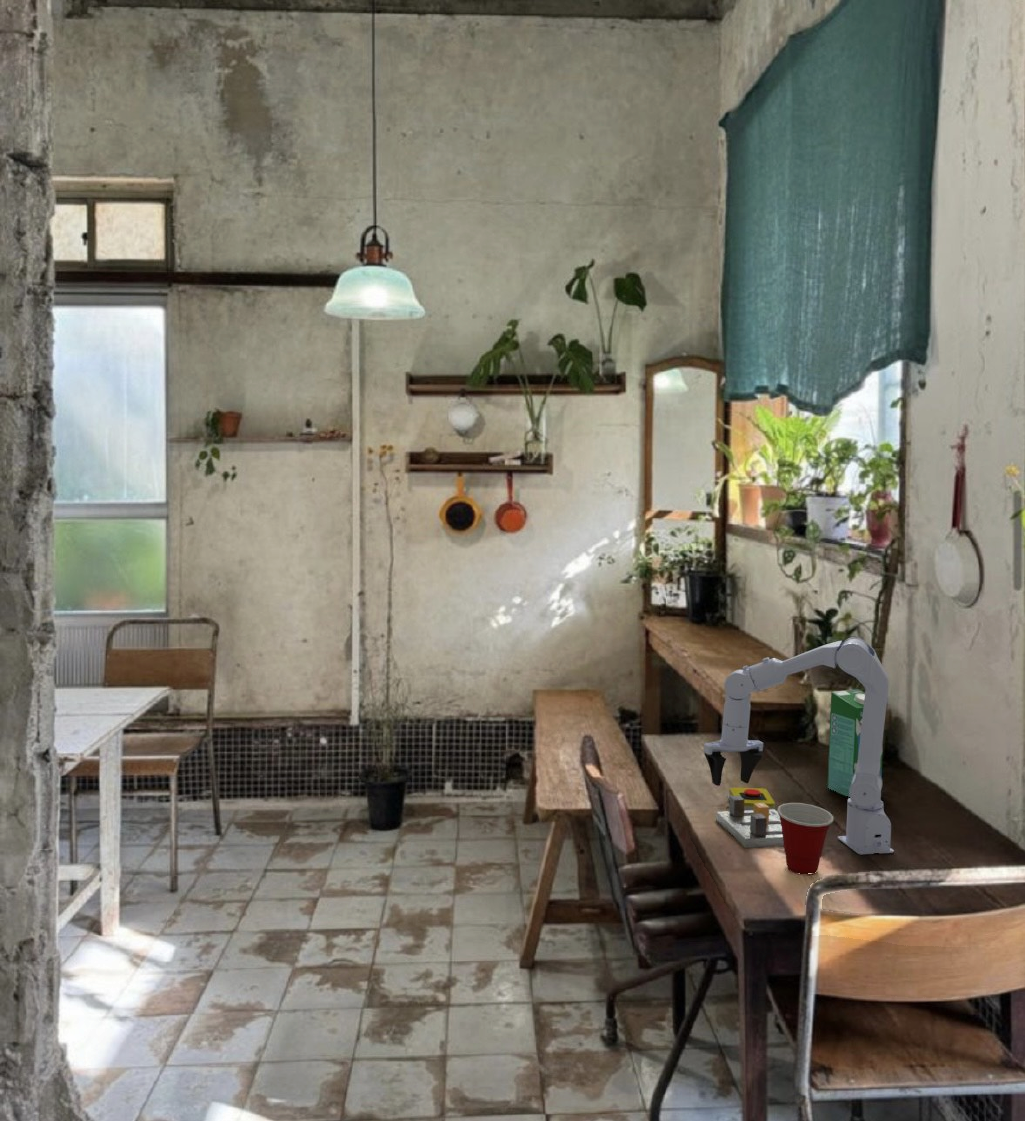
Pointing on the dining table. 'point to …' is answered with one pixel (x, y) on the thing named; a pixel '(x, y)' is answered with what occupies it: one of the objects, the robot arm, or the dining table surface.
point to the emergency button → (753, 797)
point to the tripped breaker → (761, 810)
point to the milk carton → (845, 738)
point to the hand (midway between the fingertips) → (730, 783)
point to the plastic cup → (803, 835)
